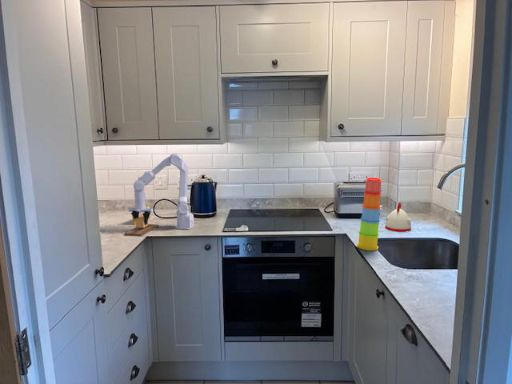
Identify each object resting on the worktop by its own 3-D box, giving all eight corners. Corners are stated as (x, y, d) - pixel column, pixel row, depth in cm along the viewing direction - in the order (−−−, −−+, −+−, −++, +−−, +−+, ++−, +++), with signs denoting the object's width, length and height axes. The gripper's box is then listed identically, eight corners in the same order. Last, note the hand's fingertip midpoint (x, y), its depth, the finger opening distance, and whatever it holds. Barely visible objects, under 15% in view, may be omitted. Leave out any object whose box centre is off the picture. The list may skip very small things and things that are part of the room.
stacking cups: (372, 243, 191) (375, 176, 185) (382, 250, 181) (386, 179, 175) (353, 244, 189) (356, 176, 183) (362, 251, 179) (365, 180, 173)
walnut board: (158, 226, 227) (158, 224, 226) (141, 236, 207) (140, 234, 207) (143, 225, 229) (142, 223, 229) (124, 235, 210) (124, 233, 209)
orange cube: (147, 225, 219) (147, 217, 218) (143, 227, 215) (143, 219, 214) (140, 224, 220) (139, 216, 220) (135, 227, 216) (135, 218, 215)
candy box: (135, 225, 231) (134, 212, 229) (132, 224, 232) (131, 211, 230) (150, 218, 246) (149, 206, 244) (147, 218, 247) (147, 206, 245)
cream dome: (412, 227, 219) (414, 202, 217) (408, 233, 208) (410, 207, 205) (387, 224, 226) (389, 200, 224) (382, 230, 215) (384, 204, 212)
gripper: (124, 201, 213) (126, 225, 215) (148, 202, 209) (149, 226, 212) (131, 199, 219) (133, 221, 222) (154, 200, 216) (155, 223, 219)
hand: (141, 223), depth 217 cm, fingers closed on orange cube, 5 cm apart
